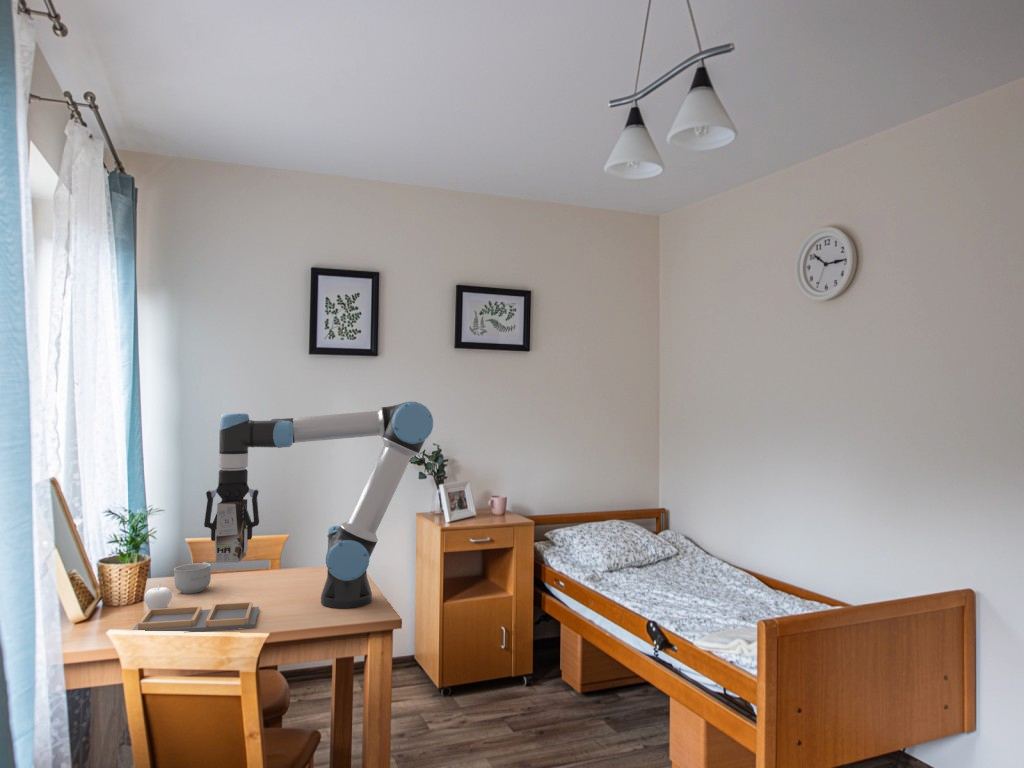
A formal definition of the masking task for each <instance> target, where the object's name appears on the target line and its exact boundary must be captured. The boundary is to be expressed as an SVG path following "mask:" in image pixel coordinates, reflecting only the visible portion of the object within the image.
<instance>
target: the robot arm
mask: <svg viewBox="0 0 1024 768" xmlns="http://www.w3.org/2000/svg"><path fill="white" fill-rule="evenodd" d="M219 423H220V424H219V430H218V431H219V437H218V439H219V440H218V441H219V450H218V451H219V452H218V468H220V470H218V485H217V488H216V489H213V490H211V489H208V491H206V493H205V495H206V498H207V501H206V510H205V515H204V521H203V522H204V524H203V527H205V528H208V529H210V540H211V541H212V542H214V554H215V555H216V531H217V513H216V514H215V517H214V519H213V522H211V517H212V513H213V504H214V498H215V497H216V494H217V495H218V496H219V497H220V498H221V501H220V502H221V503H225V502H232V501H238V502H243V501H244V498H245V497H246V496H247V494H249V498H250V497H251V503H252V504H251V505H252V514H253V515H252V516H253V521H252V519H251V515H250V513H249V510H248V507H247V508H246V505H245V504H244V503H243V504H244V519H245V522H246V525H247V527H245V529H244V553H245V552H246V553H248V550H249V547H248V545H249V543H248V541H250V540H252V539H253V528H254V527H257V526H259V524H260V515H259V505H258V504H259V503H258V496H259V492H260V490H259V489H257V488H256V489H252V488H250V487H249V485H248V474H249V473H248V472H249V471H248V469H246V468H248V466H249V448H278V449H280V448H283V449H284V448H290V447H291V446H293V444H295V443H296V444H298V443H305V442H306V443H307V442H317V441H318V442H319V441H330V440H342V439H352V438H363V437H364V438H365V437H366V438H367V437H375V436H376V437H377V436H380V437H381V439H382V441H383V444H384V445H383V447H382V449H381V452H380V454H379V456H378V458H377V459H376V462H375V464H374V466H373V467H372V470H371V472H370V474H369V476H368V478H367V481H366V482H365V484H364V487H363V488H362V491H361V494H360V495H359V498H358V499H357V501H356V504H355V506H354V508H353V510H352V512H351V514H350V516H349V519H348V520H347V521H345V522H343V523H340V525H333V526H330V527H329V528H328V532H327V533H328V534H327V552H326V555H325V565H326V568H327V575H326V577H327V578H326V580H325V583H324V586H323V589H322V592H321V596H320V603H321V605H322V606H324V607H329V608H332V609H333V608H334V609H349V608H350V609H351V607H352V609H353V608H359V607H363V606H366V605H368V604H370V603H371V602H372V601H373V592H372V588H371V586H370V581H369V579H368V575H367V570H368V568H369V565H370V558H371V556H372V553H373V552H374V550H375V547H376V545H377V544H378V542H379V539H378V537H377V531H378V528H379V526H380V525H381V522H382V520H383V518H384V516H385V514H386V512H387V509H388V507H389V506H390V504H391V501H392V499H393V497H394V496H395V495H394V494H395V492H396V490H397V488H398V486H399V484H400V482H401V480H402V477H403V475H404V473H405V472H406V470H407V467H408V466H409V462H410V461H411V459H412V458H413V457H415V456H417V455H419V454H420V452H421V449H422V448H423V445H424V444H425V441H426V440H427V439H428V438H429V436H430V435H431V433H432V432H433V428H434V418H433V415H432V412H431V411H430V409H429V408H428V407H427V406H426V405H424V404H423V403H421V402H417V401H406V402H402V403H398V404H395V405H390V406H381V407H379V409H378V410H372V411H360V412H359V411H358V412H348V413H338V414H337V413H335V414H326V415H324V414H323V415H312V416H302V417H301V416H300V417H291V418H290V417H289V418H274V419H271V420H252V419H251V420H250V416H249V414H248V413H238V412H237V413H235V412H234V413H233V412H232V413H231V412H230V413H227V412H226V413H223V414H221V416H220V422H219Z"/></svg>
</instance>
